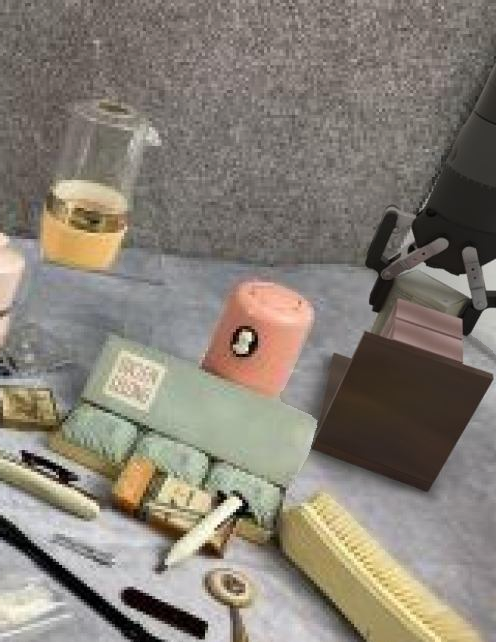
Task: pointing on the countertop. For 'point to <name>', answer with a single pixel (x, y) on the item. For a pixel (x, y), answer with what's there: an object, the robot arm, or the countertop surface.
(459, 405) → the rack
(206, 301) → the countertop surface
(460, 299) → the cosmetic box
